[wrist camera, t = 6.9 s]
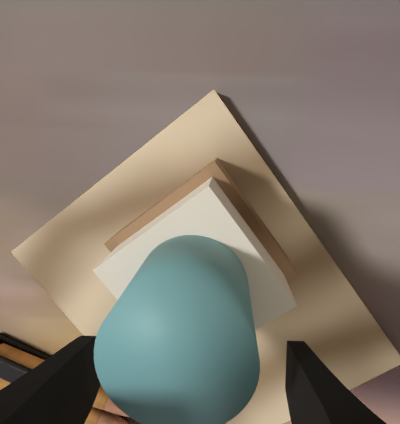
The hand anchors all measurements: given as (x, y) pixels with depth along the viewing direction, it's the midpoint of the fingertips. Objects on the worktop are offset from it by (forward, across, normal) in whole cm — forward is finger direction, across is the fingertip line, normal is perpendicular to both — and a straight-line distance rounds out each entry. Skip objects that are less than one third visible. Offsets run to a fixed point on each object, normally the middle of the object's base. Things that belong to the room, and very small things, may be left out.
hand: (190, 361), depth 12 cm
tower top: (+5, 0, -2) cm, 5 cm away
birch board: (+8, 0, +2) cm, 9 cm away
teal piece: (+2, 0, -2) cm, 3 cm away
